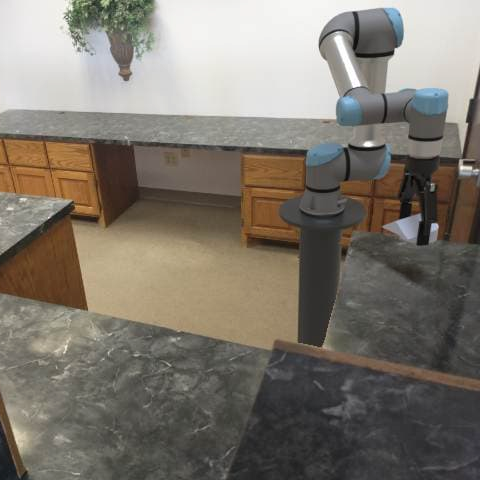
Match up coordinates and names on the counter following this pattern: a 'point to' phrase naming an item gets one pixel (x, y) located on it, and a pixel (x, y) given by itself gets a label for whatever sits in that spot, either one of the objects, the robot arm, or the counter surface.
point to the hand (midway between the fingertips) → (412, 234)
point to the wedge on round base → (411, 229)
